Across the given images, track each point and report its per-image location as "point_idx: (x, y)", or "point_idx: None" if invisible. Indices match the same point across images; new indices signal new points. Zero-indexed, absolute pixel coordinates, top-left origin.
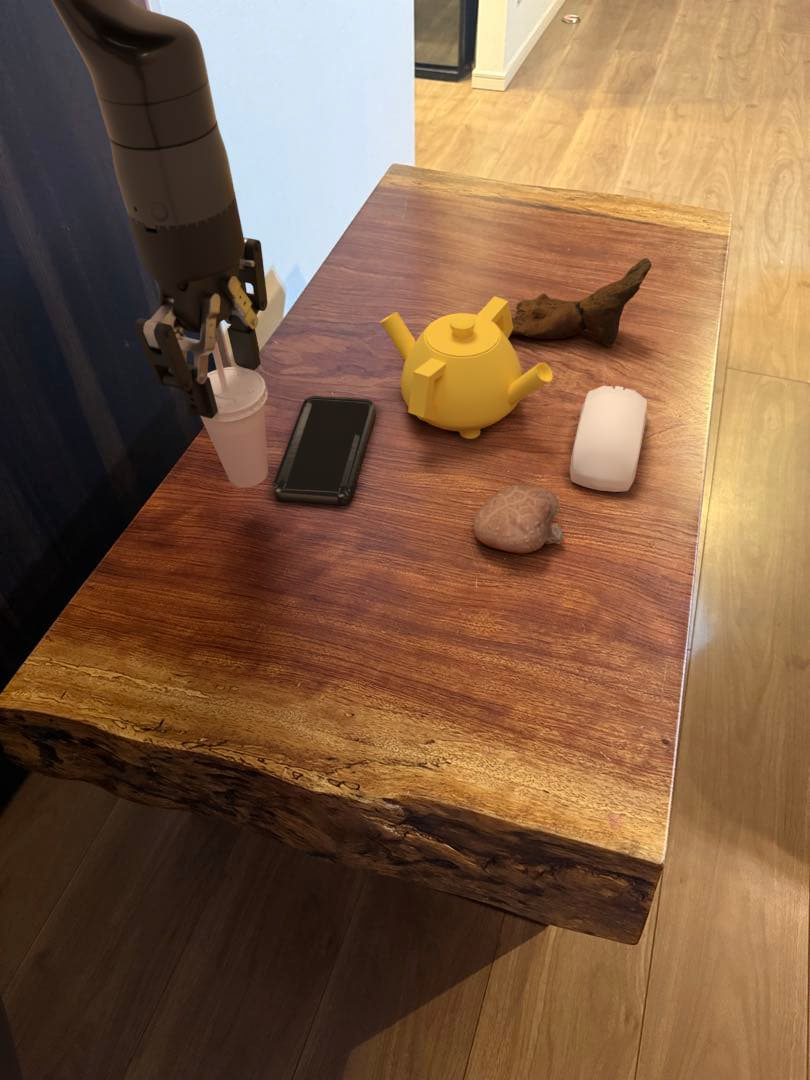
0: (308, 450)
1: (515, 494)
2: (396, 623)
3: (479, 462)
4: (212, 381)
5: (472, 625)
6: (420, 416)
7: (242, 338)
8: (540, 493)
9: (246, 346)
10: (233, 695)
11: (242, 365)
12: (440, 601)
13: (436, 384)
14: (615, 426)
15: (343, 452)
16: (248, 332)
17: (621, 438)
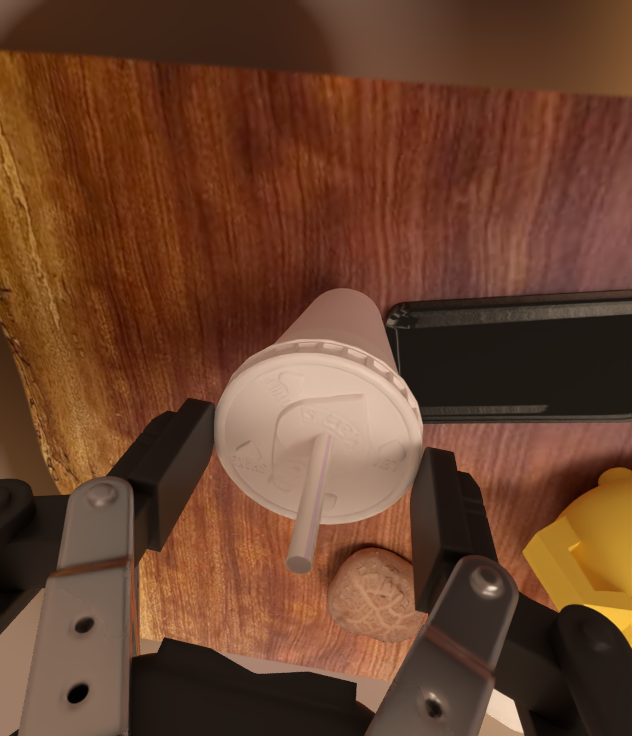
0: (500, 341)
1: (392, 618)
2: (225, 486)
3: (499, 543)
4: (328, 410)
5: (247, 544)
6: (524, 548)
7: (422, 564)
8: (398, 637)
9: (419, 545)
10: (74, 355)
11: (421, 464)
12: (266, 519)
13: (592, 586)
14: (506, 718)
15: (498, 396)
16: (426, 605)
17: (490, 713)
